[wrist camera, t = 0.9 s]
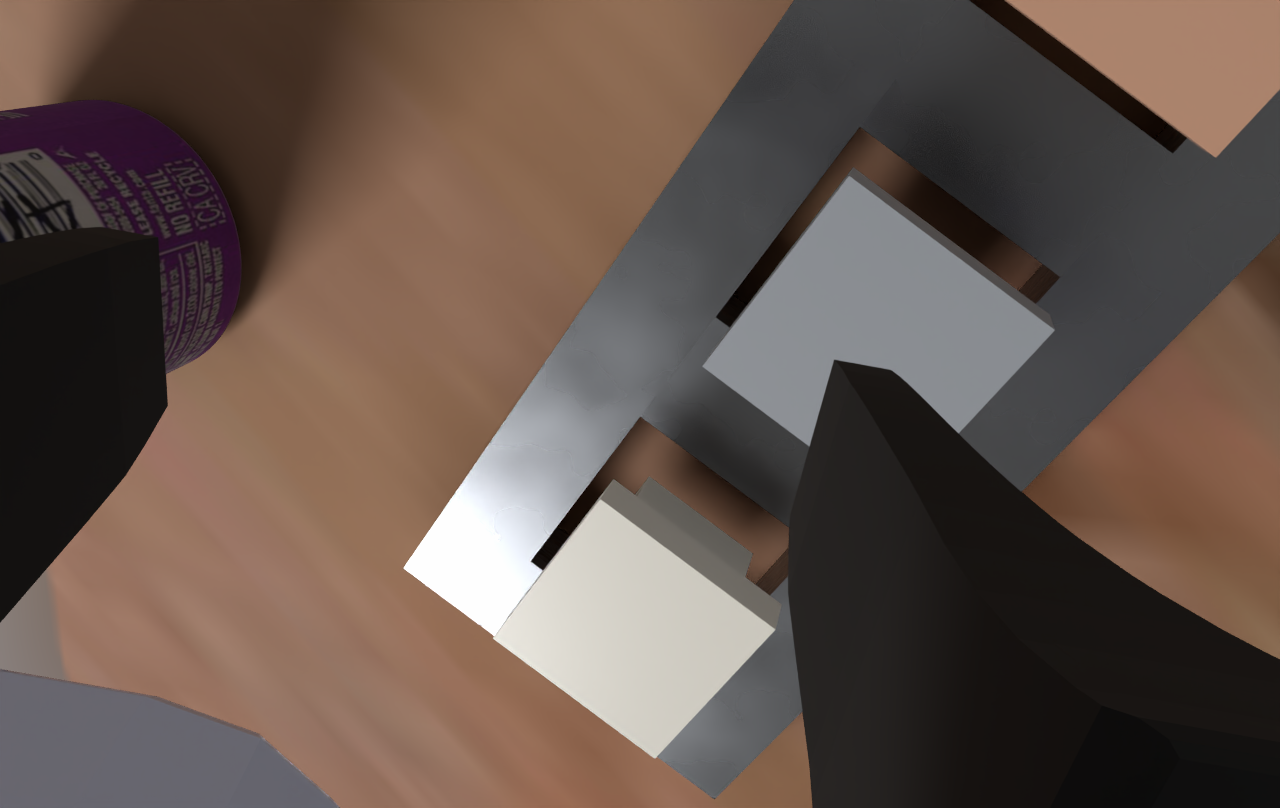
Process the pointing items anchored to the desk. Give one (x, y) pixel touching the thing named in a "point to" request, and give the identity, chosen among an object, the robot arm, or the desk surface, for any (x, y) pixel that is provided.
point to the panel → (756, 213)
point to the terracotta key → (1176, 56)
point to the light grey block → (877, 315)
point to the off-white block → (642, 614)
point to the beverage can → (127, 204)
